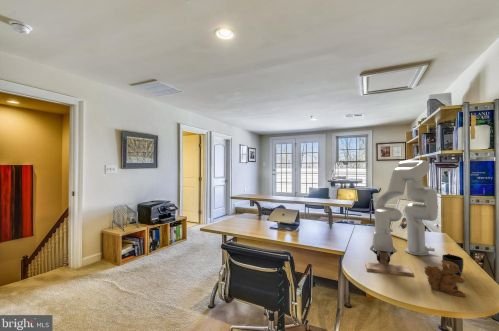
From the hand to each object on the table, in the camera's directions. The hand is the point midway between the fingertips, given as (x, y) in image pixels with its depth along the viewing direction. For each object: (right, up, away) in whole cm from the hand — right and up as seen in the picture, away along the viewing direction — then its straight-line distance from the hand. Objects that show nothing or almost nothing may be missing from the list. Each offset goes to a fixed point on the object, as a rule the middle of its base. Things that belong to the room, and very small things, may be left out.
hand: (383, 261), depth 140 cm
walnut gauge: (-1, -1, -3) cm, 3 cm away
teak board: (-2, -1, -7) cm, 8 cm away
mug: (+28, -1, -15) cm, 31 cm away
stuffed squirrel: (+12, -1, -29) cm, 31 cm away
